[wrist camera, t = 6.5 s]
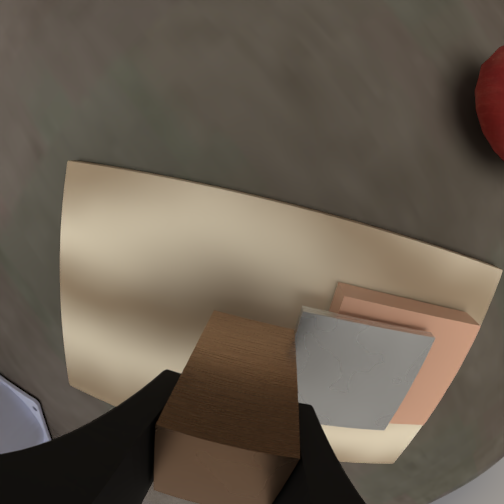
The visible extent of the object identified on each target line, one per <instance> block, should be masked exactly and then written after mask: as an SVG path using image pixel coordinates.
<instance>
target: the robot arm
mask: <svg viewBox="0 0 504 504" xmlns="http://www.w3.org/2000/svg"><path fill="white" fill-rule="evenodd" d="M180 375H181V373H178V372H174V371H171V370H168V369H166V370H164V371H162V372H161V373H160V374H159V375H158V376H157V377H155V378H154V379H153V380H152V381H151V382H149V383H148V384H147V385H146V386H144V387H143V388H142V389H140V390H139V391H138V392H136V393H135V394H134V395H132V396H131V397H129V398H128V399H127V400H125V401H124V402H122V403H121V404H119V405H118V406H116V407H115V408H113V409H112V410H110V411H109V412H107V413H105V414H104V415H102V416H100V417H98V418H97V419H95V420H93V421H92V422H90V423H88V424H86V425H84V426H82V427H80V428H78V429H76V430H74V431H72V432H70V433H67V434H65V435H63V436H61V437H58V438H56V439H53V440H51V437H50V434H49V432H48V429H47V426H46V423H45V420H44V416H43V413H42V410H41V407H40V404H39V402H38V401H37V400H36V399H35V398H33V397H31V396H30V395H28V394H27V393H25V392H24V391H22V390H21V389H19V388H18V387H16V386H15V385H13V384H12V383H10V382H9V381H8V380H6V379H5V378H3V377H2V376H1V375H0V504H142V501H143V499H144V498H145V496H146V494H147V492H148V490H149V488H150V486H151V484H152V482H153V481H154V448H155V425H156V423H157V421H158V419H159V417H160V415H161V413H162V411H163V409H164V407H165V405H166V403H167V401H168V399H169V397H170V395H171V393H172V391H173V389H174V387H175V385H176V383H177V381H178V379H179V377H180ZM298 407H299V436H300V460H299V461H298V463H297V465H296V466H295V468H294V470H293V471H292V473H291V475H290V476H289V478H288V480H287V481H286V483H285V484H284V486H283V488H282V489H281V491H280V492H279V494H278V495H277V497H276V498H275V500H274V501H273V503H272V504H366V503H365V502H364V501H363V499H362V498H361V496H360V495H359V493H358V492H357V490H356V489H355V487H354V486H353V484H352V483H351V481H350V479H349V478H348V476H347V475H346V473H345V471H344V469H343V468H342V466H341V464H340V462H339V460H338V459H337V457H336V455H335V453H334V451H333V449H332V447H331V445H330V443H329V441H328V439H327V437H326V435H325V433H324V431H323V428H322V426H321V424H320V422H319V419H318V417H317V415H316V413H315V410H314V408H313V406H312V405H309V404H304V403H298Z"/></svg>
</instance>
